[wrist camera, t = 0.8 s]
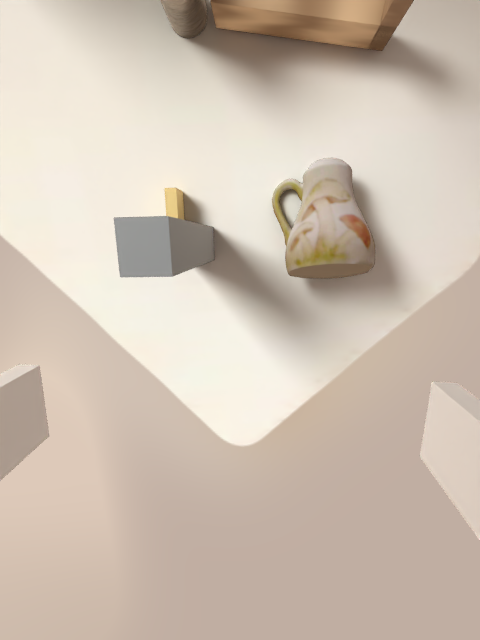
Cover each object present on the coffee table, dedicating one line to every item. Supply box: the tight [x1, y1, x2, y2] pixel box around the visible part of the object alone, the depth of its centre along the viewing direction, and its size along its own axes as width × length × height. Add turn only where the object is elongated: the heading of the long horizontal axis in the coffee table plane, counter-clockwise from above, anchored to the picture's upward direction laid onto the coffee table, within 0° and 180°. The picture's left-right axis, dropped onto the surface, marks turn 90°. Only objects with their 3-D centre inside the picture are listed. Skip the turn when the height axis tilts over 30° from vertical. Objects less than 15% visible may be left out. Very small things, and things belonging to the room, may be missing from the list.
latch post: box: [114, 188, 215, 277], centre depth 24 cm, size 6×4×15 cm, turn 1°
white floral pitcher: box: [272, 158, 375, 278], centre depth 28 cm, size 8×10×10 cm
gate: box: [210, 0, 414, 51], centre depth 24 cm, size 14×2×6 cm, turn 81°
